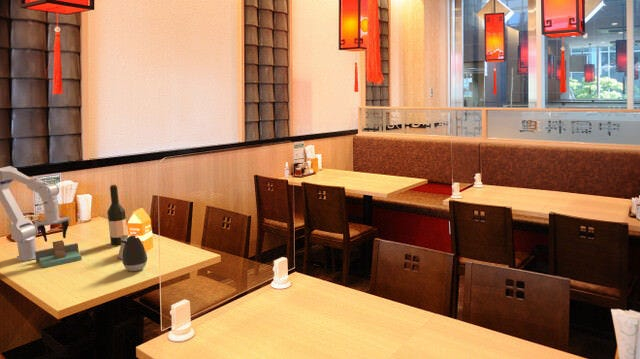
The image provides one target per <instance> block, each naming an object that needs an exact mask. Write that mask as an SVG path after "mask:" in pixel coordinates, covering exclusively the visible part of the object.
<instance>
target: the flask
mask: <svg viewBox="0 0 640 359" xmlns="http://www.w3.org/2000/svg"><path fill="white" fill-rule="evenodd" d="M127 237H128V236H127V235H123V236H121V237H120V238H121V240H126V239H127ZM124 244H125V243H121V245H120V247H119V251H118V255H117V259H121V260H122V254H123V248H124Z"/></svg>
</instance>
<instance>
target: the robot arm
mask: <svg viewBox="0 0 640 359" xmlns="http://www.w3.org/2000/svg"><path fill="white" fill-rule="evenodd" d="M13 181H15V182H19V183H21V184H23V185H26V188H27V189H28V190H31V191H33V192H35V193H37V194H38V195H39V197H40V198H41V201H42V203H43V205H42V206H43V211H44V218H45V219H44V220H40V221H37V222H36V221H35V222H32V220H30V219H28V218H26V217H25V215H24V214H23V212H22V210H21V209H20V207H19V205H18V203H17V201H16V200H15V197H14V196H13V194H12V192H11V190H10V186H11V185H12V183H13ZM59 193H60V188H59V186H58V185H57V184H56V183H54V182H52V183H48V181H44V180H41V179H39V177H37V176H36V177H35V176H34V177H30V176H28V175H26V174H24V173H22V172H21V171H19V170H18V169H17V167H14V166H11V165H8V166H4V167H0V203H1V205H2V207H3V208H4V210H5V213H6V214H7V216H8V218H9V220H10V222H11V223H12V224H11V226H10V228H9V231H10V233H11V238H12V239H13V241H14V242H16V244H17V245H16V246H17V250H18V255H17V256H16V258H17V259H18V261H19V262H20V263H21V262H28V261H31V260H32V261H33V260H36V257H35V251H37V246H36V236H37V235H38V231H40V233H41V234H42V236H43V240H44V241H45V242H46V243H47V242H48V238H47V232H46V226H52V225H57V224H61V228H62V230H61V231H62V237H63V239H66V236H67V231H68V228H69V224H70V222H71V221H72V218H71V216H65V217H60V211H59V203H58V196H57V195H59Z"/></svg>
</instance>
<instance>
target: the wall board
mask: <svg viewBox="0 0 640 359" xmlns="http://www.w3.org/2000/svg"><path fill="white" fill-rule="evenodd" d="M64 247H65V254H66V257H63V258H58V259H56V258H55V257H54V250H53V247H51V248H45V249H42V250H41V249H40V250H36V251H35V257H36V259H35V263H39V264H40V266H41V267H42V269H45V268H50V267H54V266H58V265H64V264H68V263H72V262H76V261H77V260H78V261H82V260H83V258H82V255H81V253H80V251H79V243H71V244H66V245H65V244H64ZM63 263H64V264H63Z"/></svg>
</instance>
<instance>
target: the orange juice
mask: <svg viewBox="0 0 640 359" xmlns="http://www.w3.org/2000/svg"><path fill="white" fill-rule="evenodd" d="M126 225H127V234H128V237H129V236H131V235H135V236H137V237H138V238H139V239H140V240H141V242H142V243H143V245H144V248H145V250H146V253H147V252H149V251H150V250H152V249H153V248H154V241H153V228H152V219H151V217H150V215H148V214H147V212H146V211H145V209H144V208H143V207H141V208H138V209H137V210H134V211H132V214H131V216H130V218H129V219H128V222H126Z"/></svg>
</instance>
